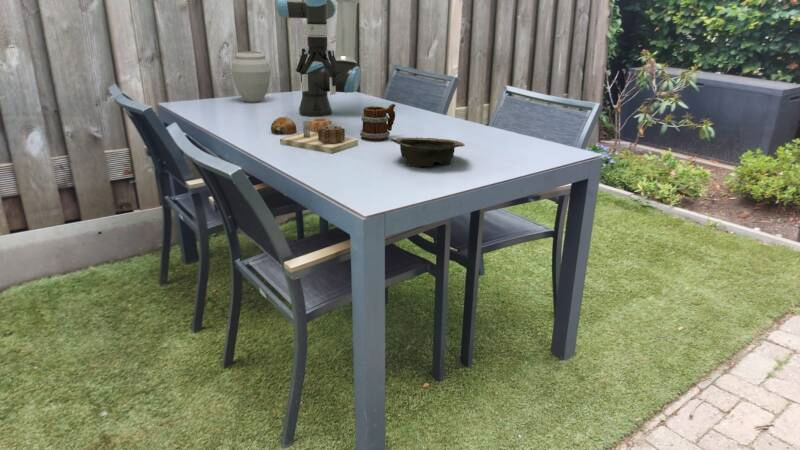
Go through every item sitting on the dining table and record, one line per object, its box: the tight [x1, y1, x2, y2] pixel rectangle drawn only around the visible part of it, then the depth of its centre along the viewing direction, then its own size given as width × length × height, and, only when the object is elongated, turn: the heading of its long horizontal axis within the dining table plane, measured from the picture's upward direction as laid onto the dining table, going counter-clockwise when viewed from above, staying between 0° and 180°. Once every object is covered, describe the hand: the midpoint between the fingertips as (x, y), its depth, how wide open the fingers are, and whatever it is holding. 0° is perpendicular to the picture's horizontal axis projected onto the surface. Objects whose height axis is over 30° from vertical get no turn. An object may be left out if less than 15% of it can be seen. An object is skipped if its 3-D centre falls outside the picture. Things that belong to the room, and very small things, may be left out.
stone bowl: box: [390, 136, 466, 168], centre depth 191 cm, size 25×25×9 cm
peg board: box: [279, 120, 359, 155], centre depth 209 cm, size 24×16×8 cm, turn 60°
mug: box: [359, 103, 396, 142], centre depth 220 cm, size 12×14×15 cm
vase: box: [230, 50, 272, 103], centre depth 287 cm, size 20×20×24 cm
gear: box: [308, 117, 333, 133], centre depth 228 cm, size 10×10×5 cm
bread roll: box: [270, 116, 297, 136], centre depth 227 cm, size 10×10×8 cm
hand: (318, 92), depth 223 cm, fingers open, 13 cm apart
